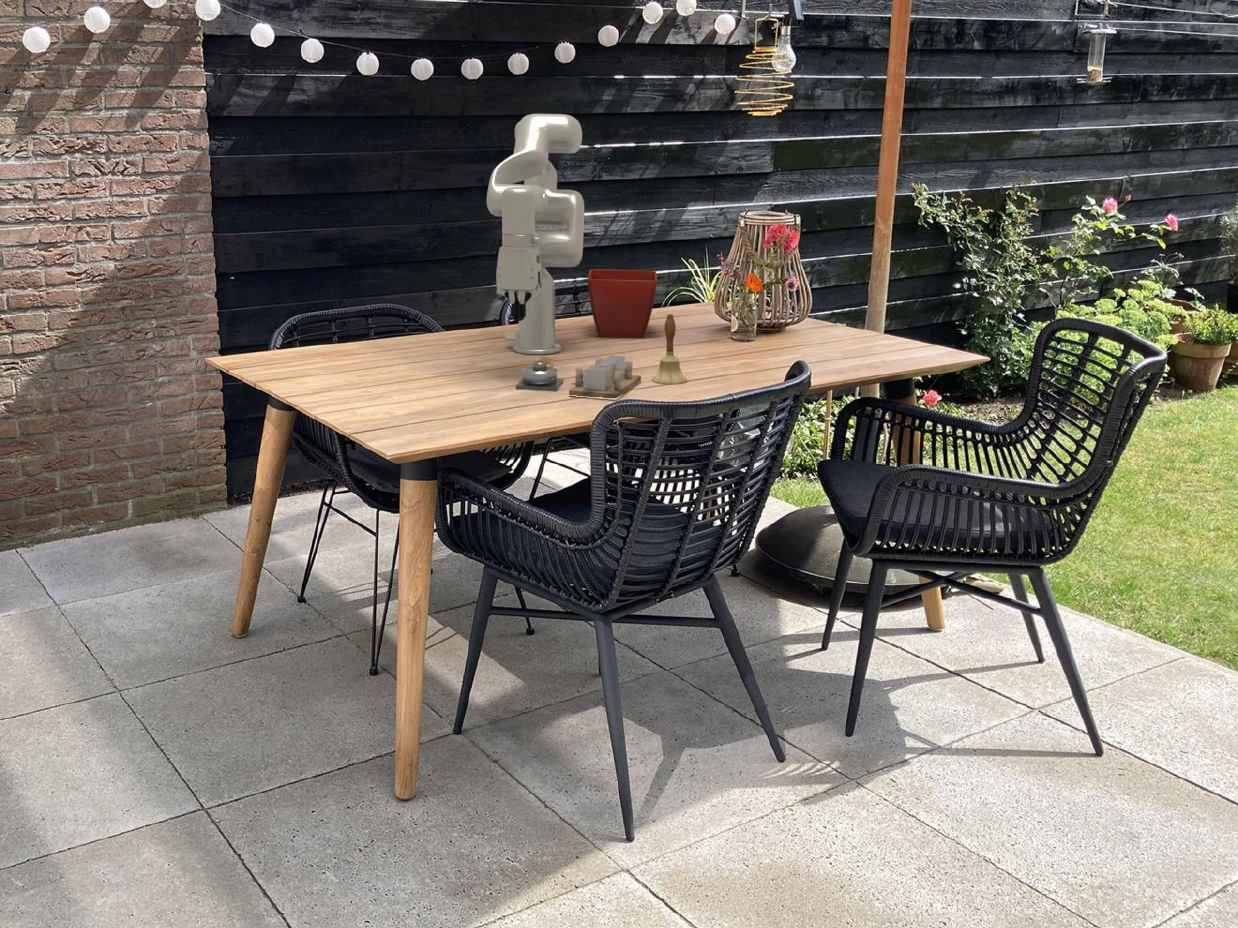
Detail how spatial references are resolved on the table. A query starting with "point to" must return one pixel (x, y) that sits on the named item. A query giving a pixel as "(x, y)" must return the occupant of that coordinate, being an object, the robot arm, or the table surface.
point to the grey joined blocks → (603, 373)
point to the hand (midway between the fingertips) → (518, 319)
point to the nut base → (540, 385)
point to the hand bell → (669, 359)
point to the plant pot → (621, 301)
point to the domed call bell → (541, 372)
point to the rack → (619, 387)
